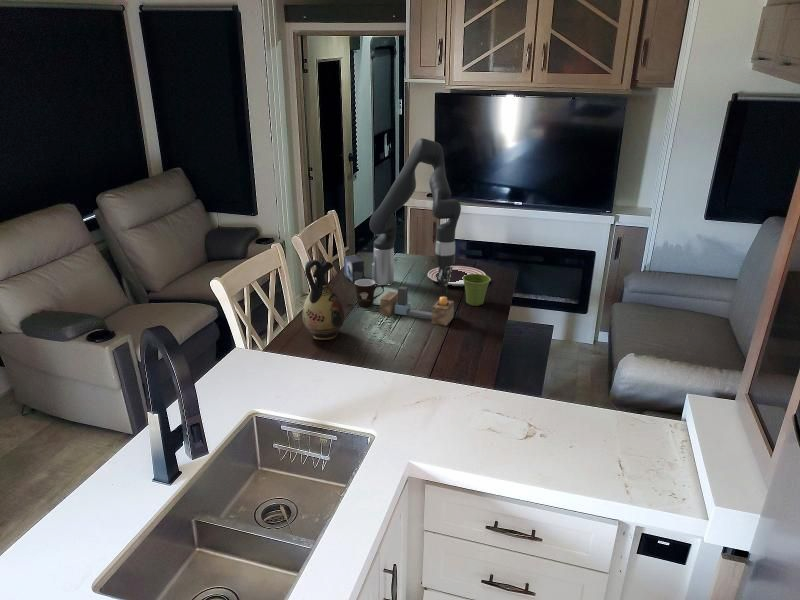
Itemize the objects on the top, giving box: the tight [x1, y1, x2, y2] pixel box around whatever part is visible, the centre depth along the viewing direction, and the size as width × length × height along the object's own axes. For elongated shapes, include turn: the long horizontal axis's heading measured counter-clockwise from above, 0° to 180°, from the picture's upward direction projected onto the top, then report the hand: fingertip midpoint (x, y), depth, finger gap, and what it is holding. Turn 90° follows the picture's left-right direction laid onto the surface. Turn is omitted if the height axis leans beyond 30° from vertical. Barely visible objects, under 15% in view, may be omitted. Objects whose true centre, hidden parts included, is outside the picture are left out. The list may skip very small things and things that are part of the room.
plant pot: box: [462, 274, 492, 307], centre depth 249 cm, size 12×12×11 cm
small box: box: [343, 254, 365, 283], centre depth 277 cm, size 11×6×10 cm, turn 28°
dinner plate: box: [427, 265, 487, 287], centre depth 278 cm, size 27×27×3 cm
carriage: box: [395, 286, 412, 316], centre depth 238 cm, size 5×5×10 cm
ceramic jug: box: [302, 259, 345, 341], centre depth 215 cm, size 17×15×30 cm
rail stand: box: [380, 291, 455, 326], centre depth 237 cm, size 28×9×7 cm, turn 68°
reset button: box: [439, 295, 448, 306], centre depth 231 cm, size 3×3×4 cm
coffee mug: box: [354, 278, 385, 308], centre depth 247 cm, size 12×9×10 cm
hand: (443, 294), depth 230 cm, fingers closed
